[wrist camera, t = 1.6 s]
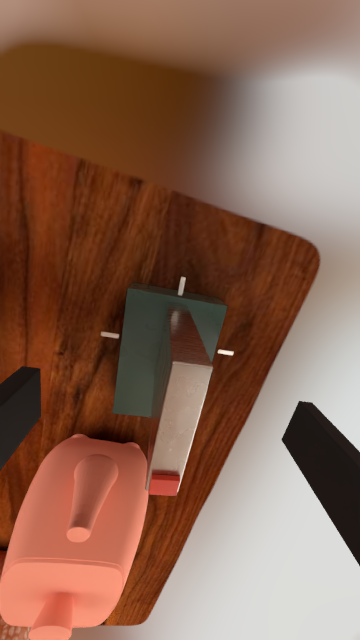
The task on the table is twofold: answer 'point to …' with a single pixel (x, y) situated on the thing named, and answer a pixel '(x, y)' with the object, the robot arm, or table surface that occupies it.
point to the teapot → (74, 537)
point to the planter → (3, 636)
